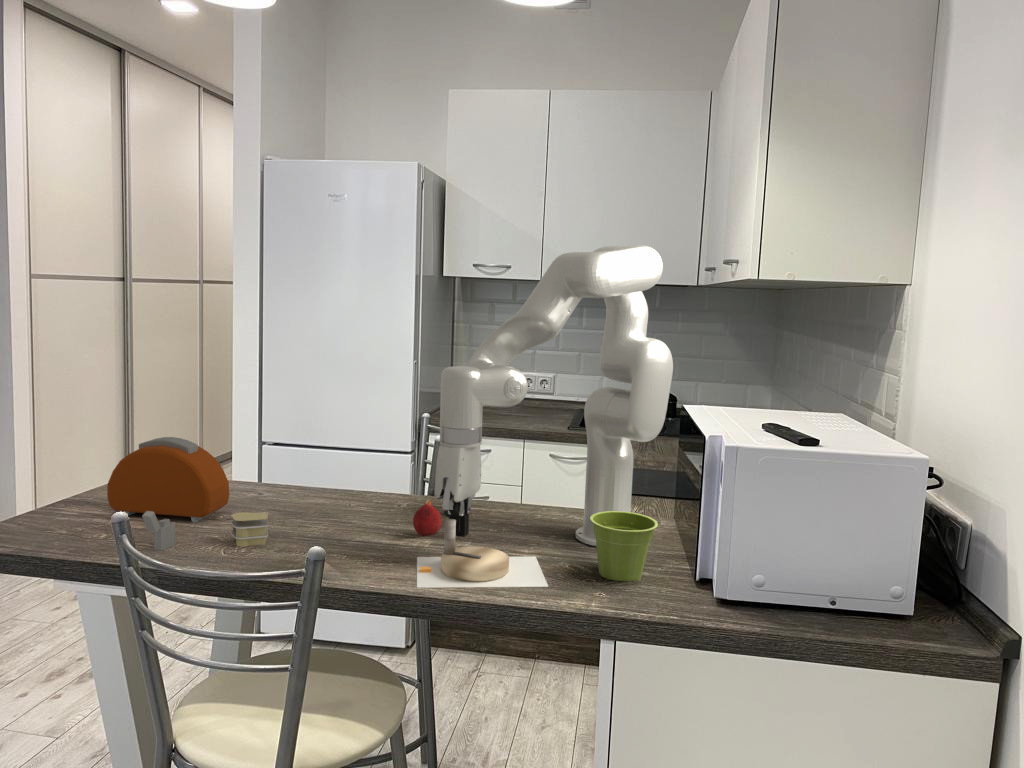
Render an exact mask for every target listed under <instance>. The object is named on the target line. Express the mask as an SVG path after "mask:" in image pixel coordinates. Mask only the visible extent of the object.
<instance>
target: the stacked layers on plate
mask: <svg viewBox="0 0 1024 768" xmlns="http://www.w3.org/2000/svg"><path fill="white" fill-rule="evenodd" d="M230 516H231V517H232V519H233V520H231V521H230V524H231V525H232V530H231V531H230V534H231V535H232V537H233V538H234V539H235V545H237V547H239V546H241V547H243V546H244V547H248V546H261V545H262V546H263V545H264V546H265V545H266V543H267V538H268V534H269V529H267V527H268V526H269V519H268V518H269V517H268V516H269V513H267V512H264V513H263V512H248V511H247V512H243V511H242V512H240V511H239V512H234V513H233V514H230ZM241 547H240V548H241Z"/></svg>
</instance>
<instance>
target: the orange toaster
mask: <svg viewBox="0 0 1024 768" xmlns="http://www.w3.org/2000/svg"><path fill="white" fill-rule="evenodd" d="M229 483H230V482H229V480H228V477H227V476H226V473H225V471H224V468H223V467H222V466H221V464H220V463H219V461H218V459H217V458H216V457H214V456H213V455H212V454H211V453H210V452H208V451H207V450H205V449H204V448H203V447H201V446H199V445H198V444H197V443H195V442H193V441H191V440H188V439H184V438H181V437H176V436H175V437H174V436H165V437H157V438H153V439H151V440H146V441H144V442H141V443H139V444H138V448H137V449H136V450H134V451H132V452H130V453H129V454H127V455H125V456H124V457H123V458H121V459H120V460H119V462H118V464H117V465H115V468H114V469H113V470H112V472H111V475H110V477H109V480H108V482H107V485H106V486H107V488H106V489H107V492H106V493H107V500H108V505H109V507H111V508H112V509H113V510H114V511H118V512H123V511H125V512H126V513H128V515H129V516H128V517H130V515H131V516H133V515H135V514H138V513H140V514H144V513H145V512H146V511H152V512H154V513H155V515H161V516H162V515H163V516H174V517H175V516H176V517H186V518H187V517H188V518H189V517H190V519H191V522H192V523H197V522H199V521H201V520H203V519H204V517H205V518H206V517H208V516H210V515H212V514H214V513H216V512H217V511H219V510H221V509H222V508H223V507H225V506H226V505H228V502H229V498H230V485H229ZM213 512H214V513H213ZM132 514H133V515H132Z"/></svg>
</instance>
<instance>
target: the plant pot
mask: <svg viewBox="0 0 1024 768" xmlns="http://www.w3.org/2000/svg"><path fill="white" fill-rule="evenodd" d="M590 520H591V522H592V523H593V527H594V534H595V537H596V546H595V547H596V554H597V555H596V556H597V567H598V574H599V575H600V576H601V577H603V578H605V579H608V580H610V581H611V580H612V581H616V582H617V581H618V582H634V581H637V582H641V581H642V580H641V579H642V576H643V571H644V568H645V567H644V566H645V564H646V559H647V555H648V551H649V546H650V543H651V540H653V536H654V532H655V529H657V528H658V526H659V525H658V524H659V523H658V521H657V520H655V519H654V518H652V517H650V516H648V515H644V514H641V513H637V512H632V511H630V512H623V511H605V512H599V513H595V514H593V515H592V516H591V517H590Z"/></svg>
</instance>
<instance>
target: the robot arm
mask: <svg viewBox="0 0 1024 768" xmlns="http://www.w3.org/2000/svg"><path fill="white" fill-rule="evenodd" d="M663 270H664V263H663V260H662V257H661V255H660V254H659V252H658V251H657V250H655V249H654V248H653V247H651V246H648V245H608V246H603V247H602V246H601V247H598V248H596V249H595V250H593V251H572V252H566V253H562V254H560V255H558V256H557V257H556V258H555V259H554V260H553V261H552V262H551V264H550V265H549V266H548V268H547V270H546V271H545V273H544V274H543V276H542V277H541V278H540V280H539V282H537V285H536V286H535V287H534V288H533V290H532V292H531V293H530V294H529V296H528V297H527V299H526V301H525V302H524V303H523V305H522V306H521V308H520V309H519V310H518V311H517V312H516V313H515V314H513V315H512V316H511V317H509V318H507V320H506V321H504V322H503V323H502V324H500V325H499V326H498V327H497V328H495V329H494V330H493V331H492V332H491V333H490V334H488V335H487V336H486V337H485V338H484V339H483V340H482V342H481V343H480V344H479V345H478V347H477V348H476V350H475V352H474V353H473V354H472V356H471V357H470V358H469V361H468V362H467V363H466V365H464V366H463V365H456V366H448V367H445V368H444V369H443V370H442V371H441V374H440V399H439V400H440V404H439V405H440V407H439V408H440V409H439V410H440V411H439V412H440V413H439V414H440V415H439V416H440V418H439V446H438V447H439V448H438V452H437V458H436V463H435V475H434V498H435V500H437V501H438V500H442V499H443V500H442V509H443V510H446V509H447V510H448V514H449V515H448V516H449V517H448V519H455V520H456V537H459V538H465V537H466V536H468V535H469V534H470V533H469V529H470V519H469V518H470V513H471V508H472V507H471V506H472V505H471V504H472V500H473V499H474V498H475V497H476V494H477V493H478V492H479V491H480V490H481V487H482V486H481V485H482V451H481V446H482V443H483V409H484V408H483V407H497V408H511V407H514V406H516V405H518V404H520V403H521V402H522V401H523V400H524V399H525V398H526V396H527V393H528V391H529V383H528V379H527V377H526V375H525V374H524V373H523V372H522V371H521V370H520V369H518V368H515V367H514V366H509V365H510V363H511V362H512V361H514V359H515V358H517V357H518V356H519V355H521V354H522V353H524V352H526V351H527V350H529V349H533V348H534V347H537V346H539V345H543V344H545V343H547V342H549V341H551V340H553V339H554V338H556V337H557V336H558V335H559V333H561V331H562V329H563V328H564V326H565V325H566V323H567V321H568V319H569V318H570V317H571V315H572V313H573V312H574V310H575V309H576V308H577V307H578V305H579V303H580V301H581V300H582V299H583V298H588V299H591V298H592V299H603V301H604V303H605V308H606V309H605V322H604V328H603V329H604V330H603V335H602V339H601V341H602V342H601V346H600V347H601V348H600V355H599V363H598V364H599V370H600V371H601V374H602V375H603V376H604V377H605V378H607V379H609V380H611V381H616V382H618V383H624V384H629V385H630V390H629V389H623V388H620V387H611V386H610V387H609V386H607V387H606V386H605V387H601V388H598V389H597V388H596V389H595V390H594V391H592V392H591V393H590V394H589V396H588V397H587V398H586V401H585V405H584V409H583V414H584V415H583V417H584V424H585V430H586V438H587V439H586V442H587V443H586V445H587V447H586V448H587V449H586V464H585V465H586V467H585V468H586V469H585V471H586V472H585V491H584V512H583V526H581V527H578V528H577V529H576V530H575V538H576V539H577V540H578V541H579V542H580V543H583V544H586V545H589V546H593V547H596V537H595V534H594V527H593V523H592V522H591V520H590V517H591V516H592V515H593V514H595V513H599V512H605V511H623V512H632V511H631V510H632V509H631V508H632V507H631V506H632V494H633V492H632V491H633V474H634V451H633V446H632V443H631V441H635V442H639V443H647V442H651V441H653V440H655V439H656V438H657V437H658V435H659V434H660V433H661V432H662V429H663V427H664V423H665V420H666V416H667V411H668V404H669V399H670V392H671V387H672V382H673V381H672V380H673V373H674V362H673V361H674V360H673V356H672V352H671V350H670V348H669V346H667V344H666V343H665V342H664V341H662V340H660V339H656V338H653V337H647V330H648V321H649V307H648V302H647V300H646V298H645V297H646V296H645V295H644V291H647V290H649V289H651V288H653V287H655V285H657V283H658V282H659V281H660V279H661V277H662V275H663Z"/></svg>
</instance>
